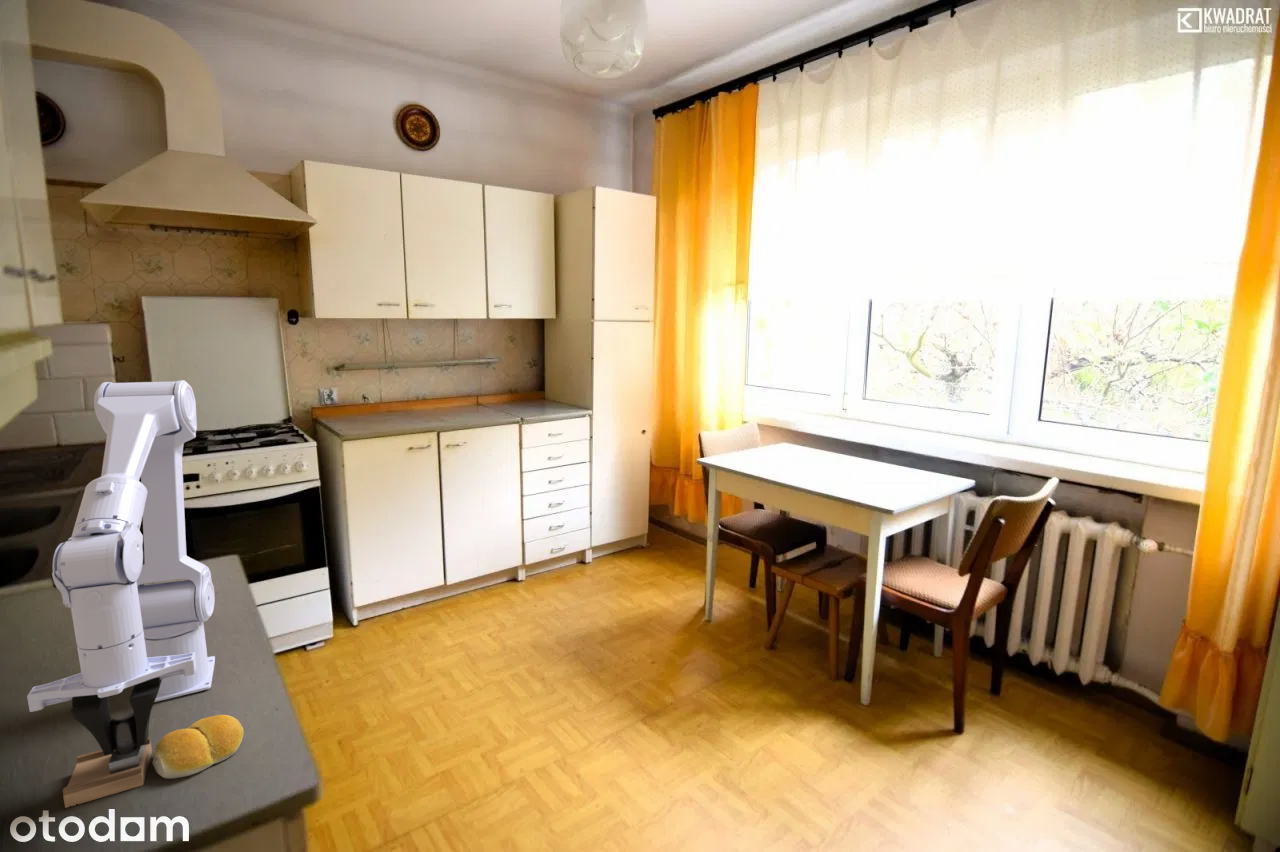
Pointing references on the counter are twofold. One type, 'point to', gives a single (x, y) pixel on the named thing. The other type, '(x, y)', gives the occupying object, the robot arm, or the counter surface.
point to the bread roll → (197, 746)
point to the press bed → (102, 777)
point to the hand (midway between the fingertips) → (126, 745)
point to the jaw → (124, 744)
